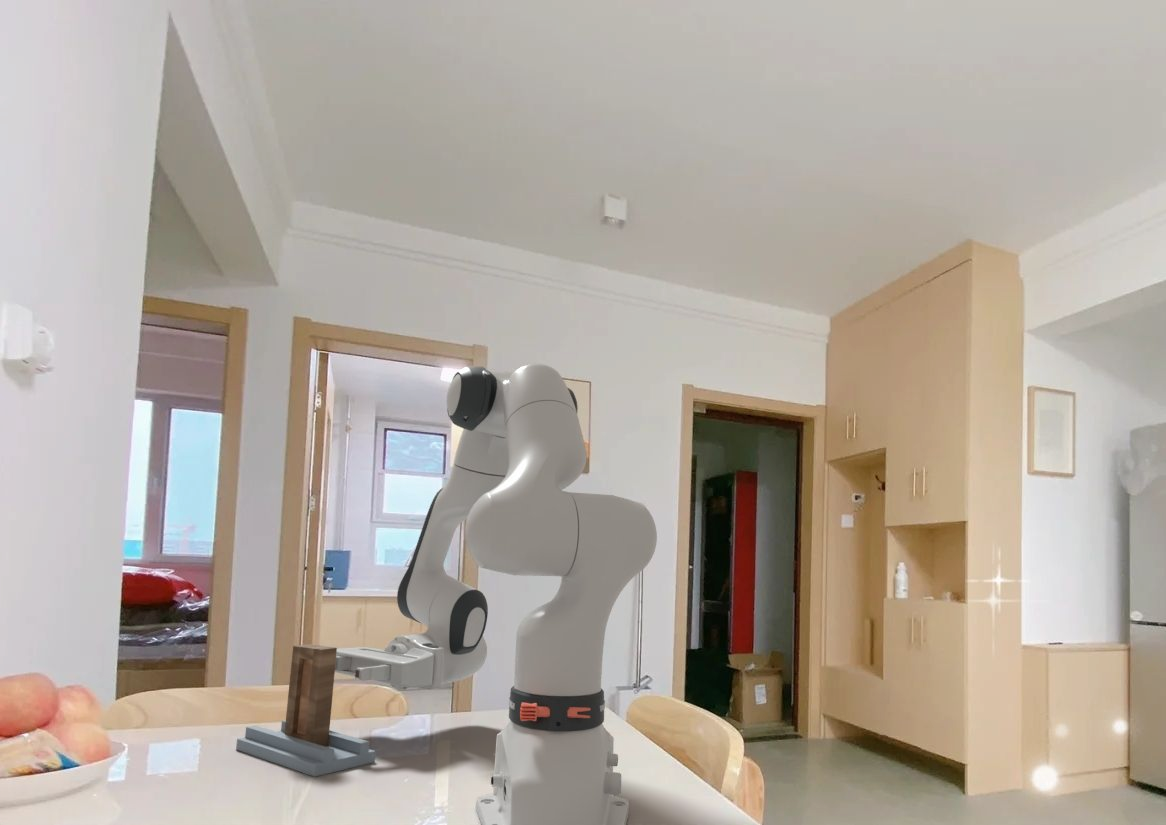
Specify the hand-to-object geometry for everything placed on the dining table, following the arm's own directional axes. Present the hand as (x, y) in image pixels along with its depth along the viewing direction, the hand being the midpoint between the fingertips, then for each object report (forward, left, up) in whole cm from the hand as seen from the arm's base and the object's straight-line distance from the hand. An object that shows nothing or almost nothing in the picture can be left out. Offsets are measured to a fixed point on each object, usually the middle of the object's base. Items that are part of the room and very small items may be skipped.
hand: (339, 670), depth 117 cm
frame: (-4, +3, -10) cm, 11 cm away
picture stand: (-4, +3, -12) cm, 13 cm away
